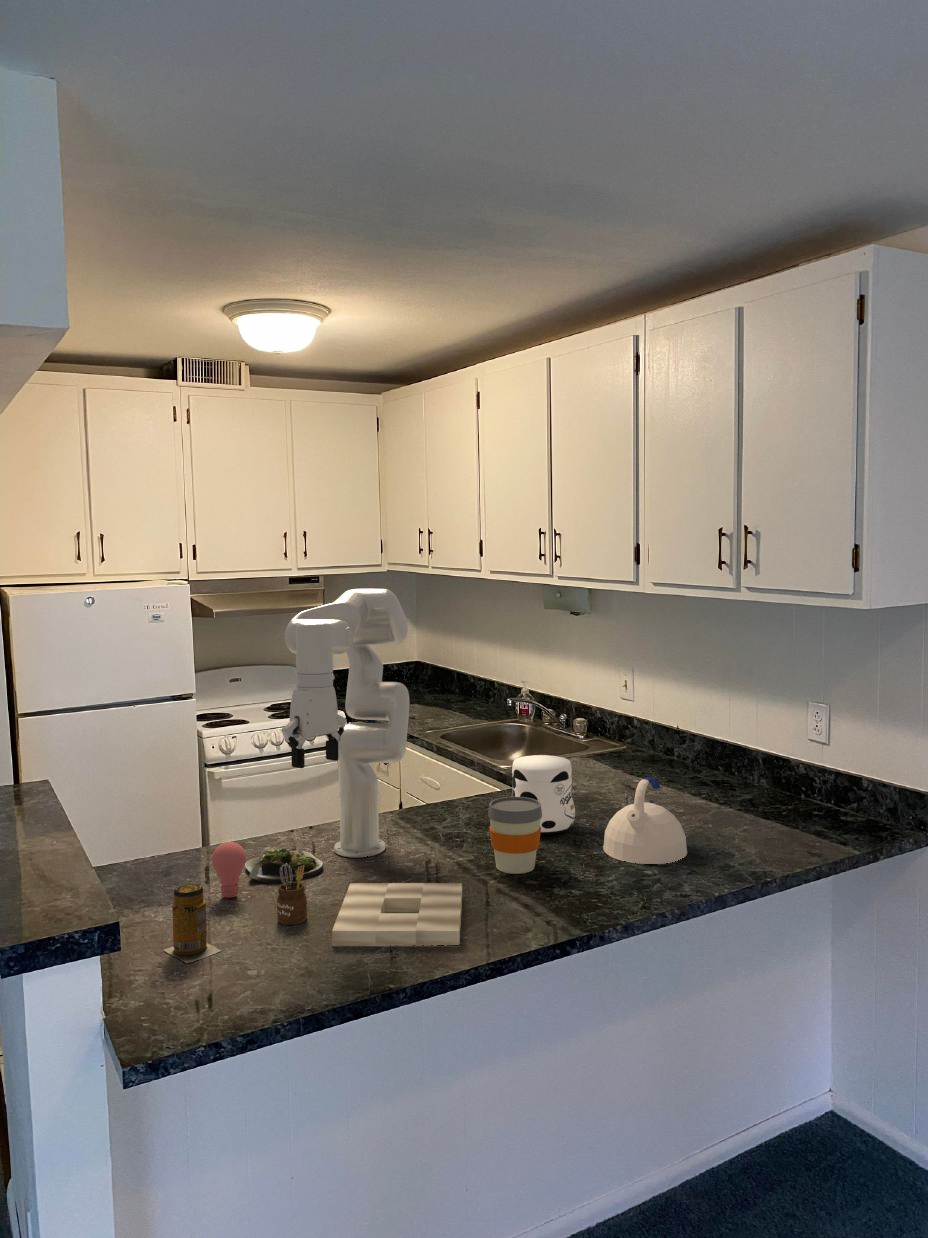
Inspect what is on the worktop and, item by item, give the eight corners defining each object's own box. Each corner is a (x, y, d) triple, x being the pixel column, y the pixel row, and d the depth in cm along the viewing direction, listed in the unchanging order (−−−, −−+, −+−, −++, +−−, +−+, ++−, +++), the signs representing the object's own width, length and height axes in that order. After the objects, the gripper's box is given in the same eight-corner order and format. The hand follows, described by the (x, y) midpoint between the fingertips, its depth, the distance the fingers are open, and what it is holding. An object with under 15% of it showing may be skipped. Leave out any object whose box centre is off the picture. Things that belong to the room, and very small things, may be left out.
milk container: (587, 834, 238) (587, 766, 236) (526, 843, 231) (526, 773, 230) (556, 816, 254) (556, 751, 252) (498, 823, 247) (498, 757, 246)
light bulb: (233, 888, 203) (232, 835, 202) (254, 896, 199) (252, 841, 198) (206, 898, 198) (204, 843, 197) (226, 906, 193) (224, 850, 192)
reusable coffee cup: (551, 863, 217) (551, 800, 216) (527, 880, 206) (527, 815, 205) (504, 854, 223) (503, 793, 222) (478, 870, 213) (478, 807, 211)
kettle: (590, 858, 221) (591, 784, 219) (618, 833, 239) (618, 764, 237) (674, 871, 211) (675, 794, 210) (696, 844, 230) (697, 773, 228)
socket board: (350, 896, 198) (350, 883, 197) (462, 896, 197) (462, 883, 197) (332, 946, 174) (332, 931, 173) (459, 946, 173) (459, 931, 173)
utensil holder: (293, 911, 190) (292, 855, 189) (314, 919, 186) (312, 861, 185) (271, 921, 186) (269, 863, 185) (291, 929, 182) (289, 870, 181)
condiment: (197, 938, 178) (195, 878, 177) (221, 951, 172) (219, 889, 171) (162, 951, 173) (160, 889, 171) (186, 965, 167) (184, 901, 166)
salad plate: (230, 863, 220) (230, 845, 219) (302, 850, 228) (301, 832, 228) (254, 890, 203) (253, 870, 202) (330, 875, 211) (330, 856, 211)
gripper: (331, 676, 200) (332, 755, 200) (270, 684, 186) (271, 768, 186) (356, 679, 195) (357, 759, 196) (296, 686, 181) (296, 773, 182)
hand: (315, 763), depth 191 cm, fingers open, 9 cm apart
